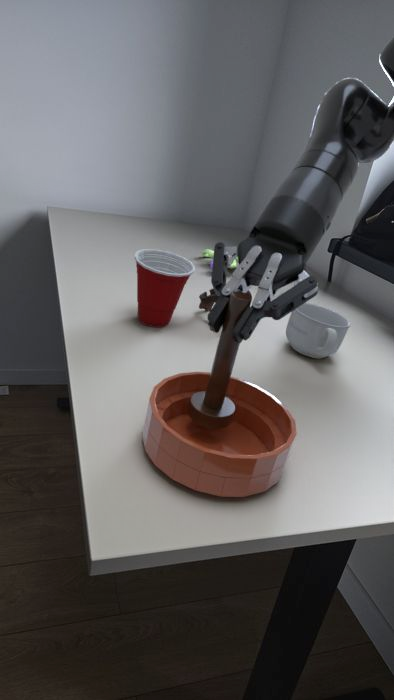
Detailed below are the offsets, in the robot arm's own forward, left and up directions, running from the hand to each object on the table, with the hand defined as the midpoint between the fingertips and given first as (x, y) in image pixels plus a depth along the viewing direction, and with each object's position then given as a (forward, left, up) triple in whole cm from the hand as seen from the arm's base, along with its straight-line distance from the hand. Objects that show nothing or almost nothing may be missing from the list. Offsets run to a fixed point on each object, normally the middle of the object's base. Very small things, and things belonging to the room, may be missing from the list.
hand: (224, 333), depth 54 cm
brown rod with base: (-2, -1, -12) cm, 12 cm away
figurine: (-51, -61, -15) cm, 81 cm away
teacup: (-35, -18, -15) cm, 42 cm away
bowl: (-1, +2, -15) cm, 15 cm away
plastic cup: (-10, -34, -15) cm, 39 cm away
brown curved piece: (-26, -34, -15) cm, 46 cm away
